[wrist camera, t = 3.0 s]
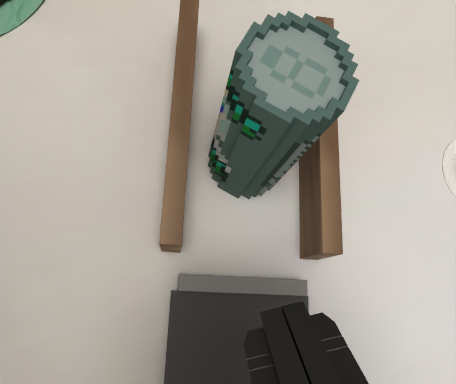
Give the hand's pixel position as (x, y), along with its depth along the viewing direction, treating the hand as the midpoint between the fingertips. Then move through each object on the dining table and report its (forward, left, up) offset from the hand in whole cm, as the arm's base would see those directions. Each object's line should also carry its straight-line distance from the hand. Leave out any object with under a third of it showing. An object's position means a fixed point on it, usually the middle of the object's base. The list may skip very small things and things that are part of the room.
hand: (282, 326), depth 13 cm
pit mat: (+2, -3, -18) cm, 18 cm away
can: (+2, +12, -18) cm, 22 cm away
